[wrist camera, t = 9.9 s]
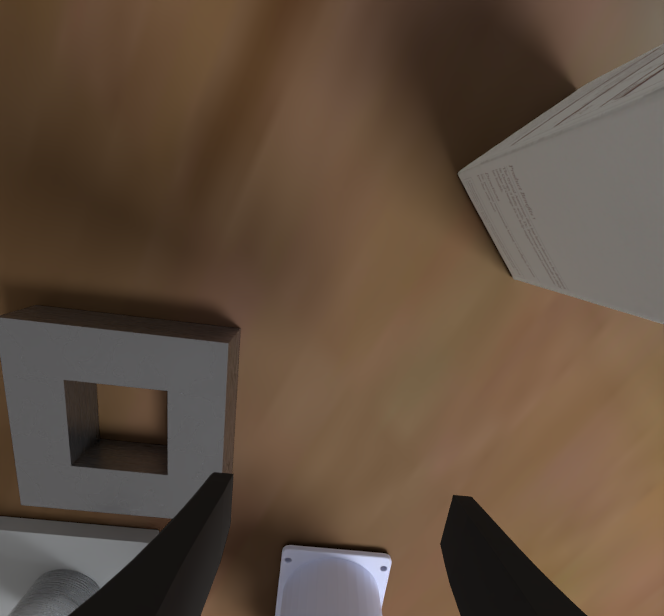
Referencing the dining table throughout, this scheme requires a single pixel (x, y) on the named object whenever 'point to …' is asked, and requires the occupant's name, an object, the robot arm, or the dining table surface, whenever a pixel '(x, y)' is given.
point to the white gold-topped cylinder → (56, 594)
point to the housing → (82, 410)
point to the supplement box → (585, 192)
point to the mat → (62, 552)
